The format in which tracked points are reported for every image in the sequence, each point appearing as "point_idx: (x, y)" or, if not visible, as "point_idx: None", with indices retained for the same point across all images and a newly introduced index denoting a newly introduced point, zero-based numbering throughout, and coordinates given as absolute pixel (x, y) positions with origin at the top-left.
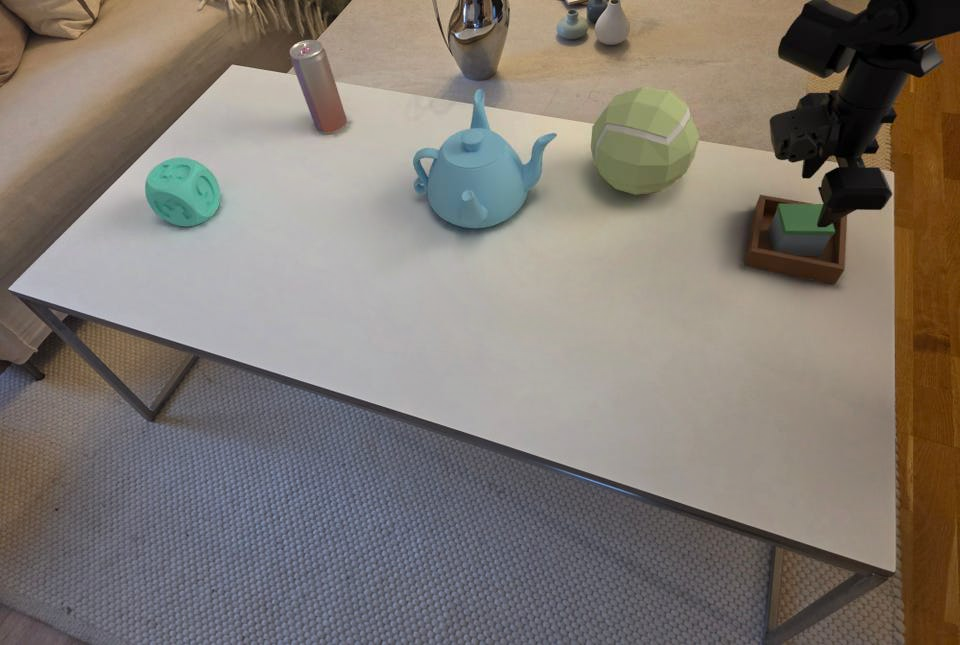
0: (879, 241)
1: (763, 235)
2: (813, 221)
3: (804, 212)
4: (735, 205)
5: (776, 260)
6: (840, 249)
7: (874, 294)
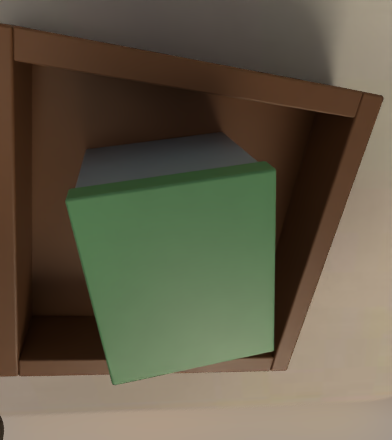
0: (210, 399)
1: (189, 112)
2: (159, 315)
3: (217, 281)
4: (364, 10)
5: None
6: (95, 363)
7: (12, 398)
